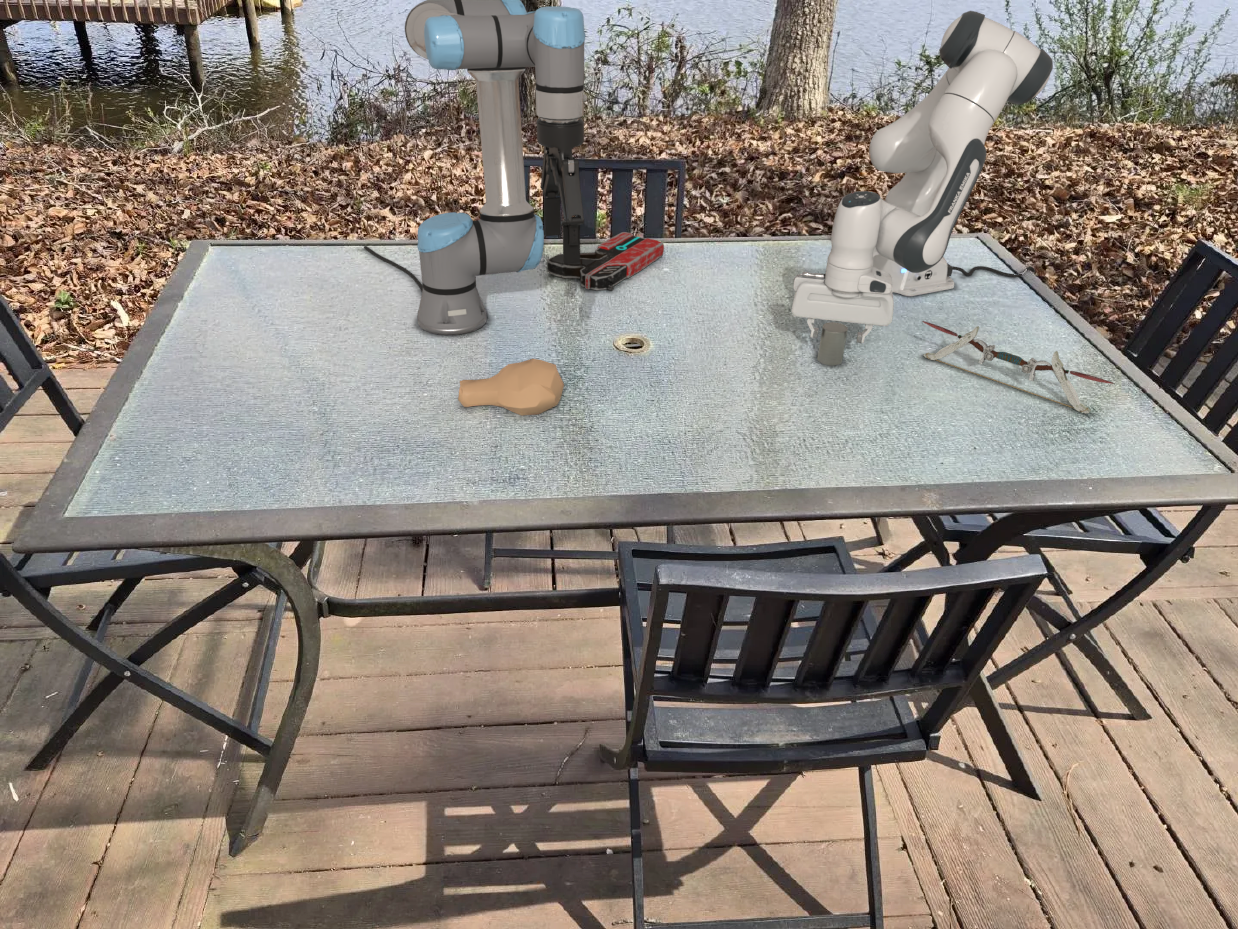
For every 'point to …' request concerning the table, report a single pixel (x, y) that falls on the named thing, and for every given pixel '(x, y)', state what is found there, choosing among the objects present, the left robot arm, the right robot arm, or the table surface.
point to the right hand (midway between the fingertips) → (836, 339)
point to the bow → (1026, 366)
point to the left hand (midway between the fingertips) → (561, 248)
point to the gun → (609, 261)
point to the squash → (516, 388)
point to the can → (832, 343)
